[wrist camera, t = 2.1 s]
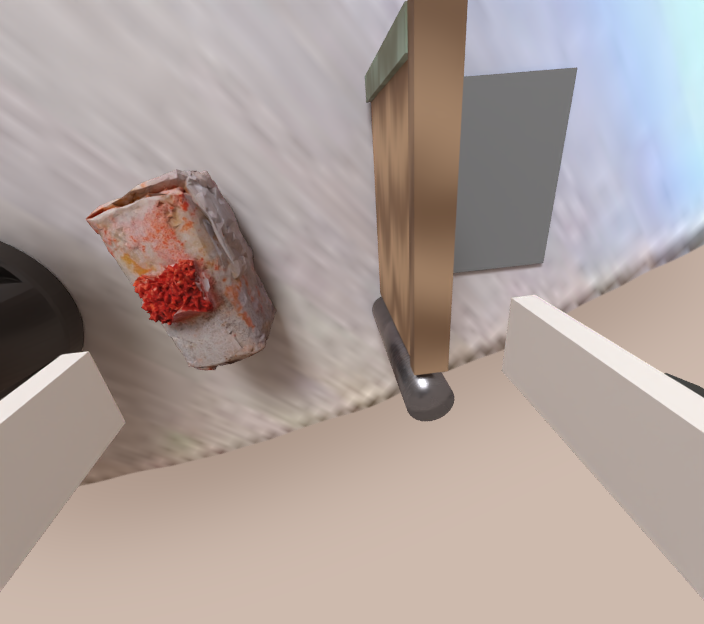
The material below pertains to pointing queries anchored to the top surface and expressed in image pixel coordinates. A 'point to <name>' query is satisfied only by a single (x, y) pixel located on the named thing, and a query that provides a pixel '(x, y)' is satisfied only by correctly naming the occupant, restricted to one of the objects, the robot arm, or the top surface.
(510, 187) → the mat
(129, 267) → the food item
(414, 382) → the gate post
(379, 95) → the gate
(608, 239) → the top surface
